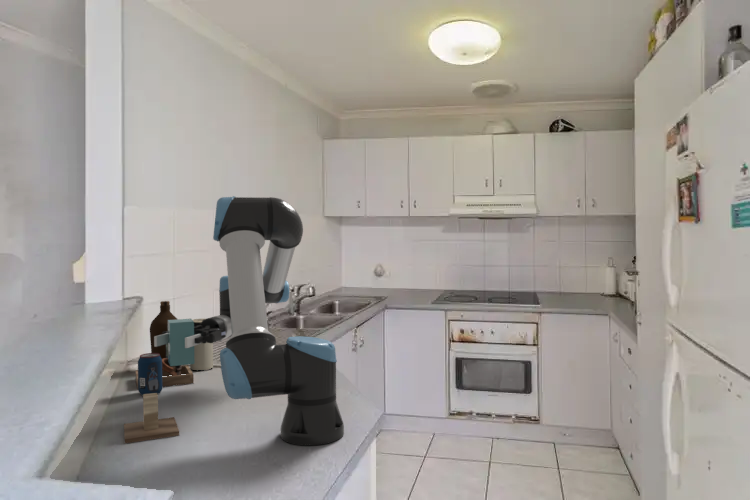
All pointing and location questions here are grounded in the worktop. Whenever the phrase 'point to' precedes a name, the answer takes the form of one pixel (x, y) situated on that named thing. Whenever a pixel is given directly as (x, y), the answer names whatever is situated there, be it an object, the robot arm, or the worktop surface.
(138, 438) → the brown square base plate
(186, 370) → the mug frame
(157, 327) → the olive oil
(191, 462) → the worktop surface
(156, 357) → the soda can
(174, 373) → the pottery mug
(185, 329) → the tall teal pillar
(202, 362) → the travel mug
